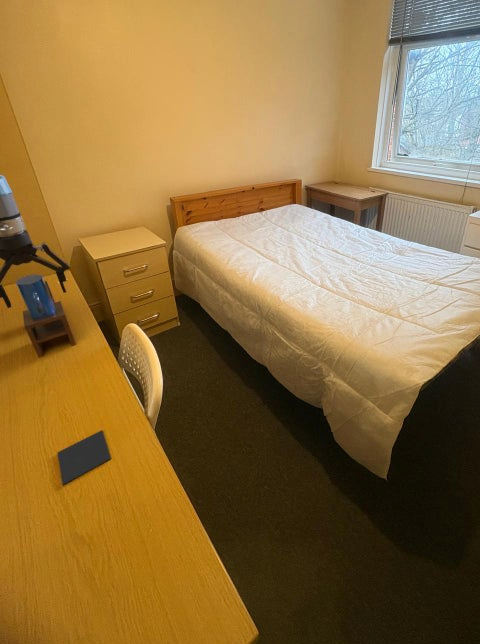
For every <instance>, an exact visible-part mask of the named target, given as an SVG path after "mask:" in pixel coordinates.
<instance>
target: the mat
mask: <svg viewBox="0 0 480 644" xmlns="http://www.w3.org/2000/svg"><path fill="white" fill-rule="evenodd" d="M57 458H58V464H59V470H60V476H61V477H60V478H61V484H62V486H65V485H67V484H69V483H72V482H73V481H74V480H76V479H78V478H80V477H82V476H84V475H85V474H87V473H89V472H91V471H93V470H94V469H96V468H99V467H100V466H101V465H103V464H105V463H107V462H109V461H111V460H112V458H111V454H110V451H109V447H108V444H107V440H106V438H105V434H104V430H99V431H97V432H95V433H93V434H91V435H89V436H87V437H85V438H83V439H81V440H79V441H77V442H75V443H73V444H71V445H69V446H67V447H65V448H63V449H61V450H59V451H57Z"/></svg>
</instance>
